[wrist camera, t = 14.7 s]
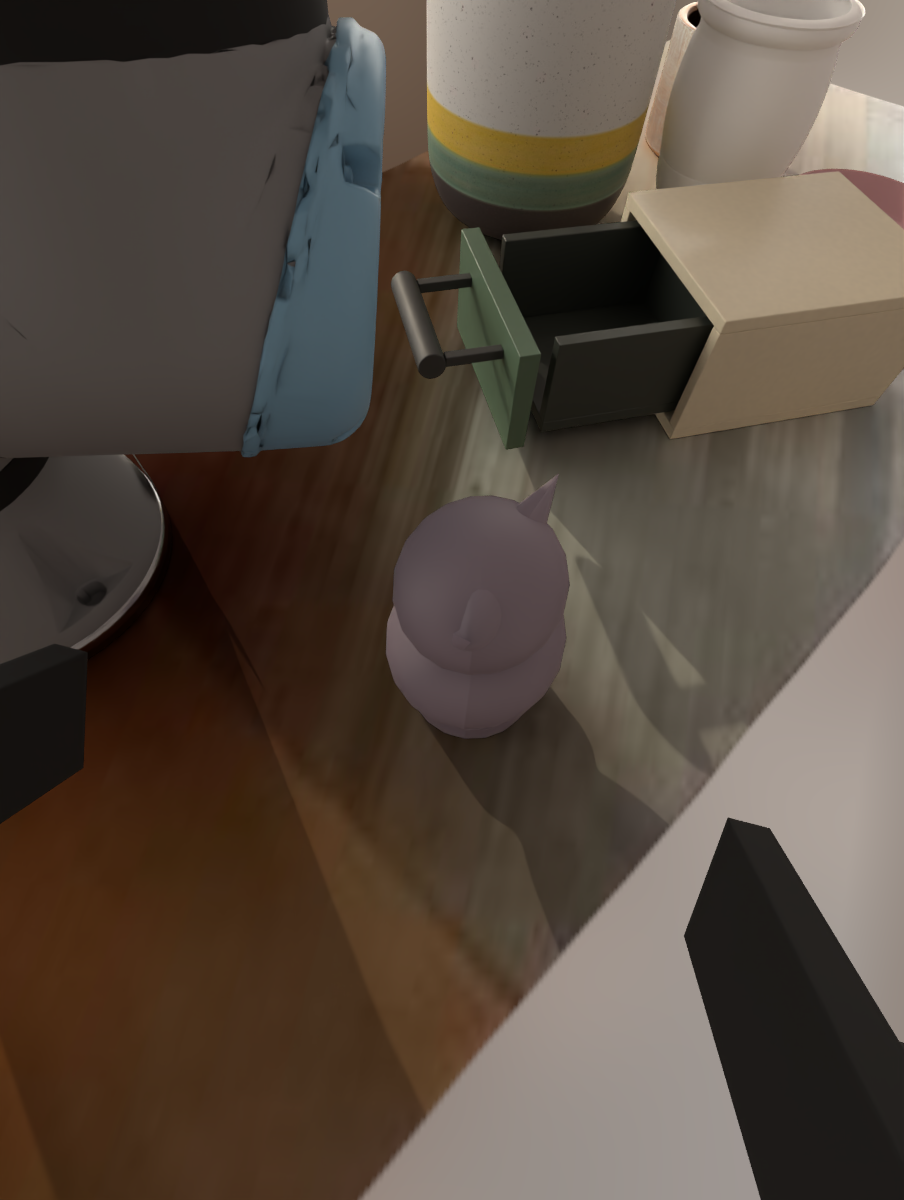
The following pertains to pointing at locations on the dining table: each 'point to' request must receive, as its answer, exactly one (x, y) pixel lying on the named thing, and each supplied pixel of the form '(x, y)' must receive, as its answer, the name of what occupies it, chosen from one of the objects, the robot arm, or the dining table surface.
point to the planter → (671, 72)
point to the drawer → (563, 326)
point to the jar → (750, 88)
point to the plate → (876, 191)
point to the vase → (538, 106)
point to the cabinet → (781, 296)
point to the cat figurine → (479, 612)
